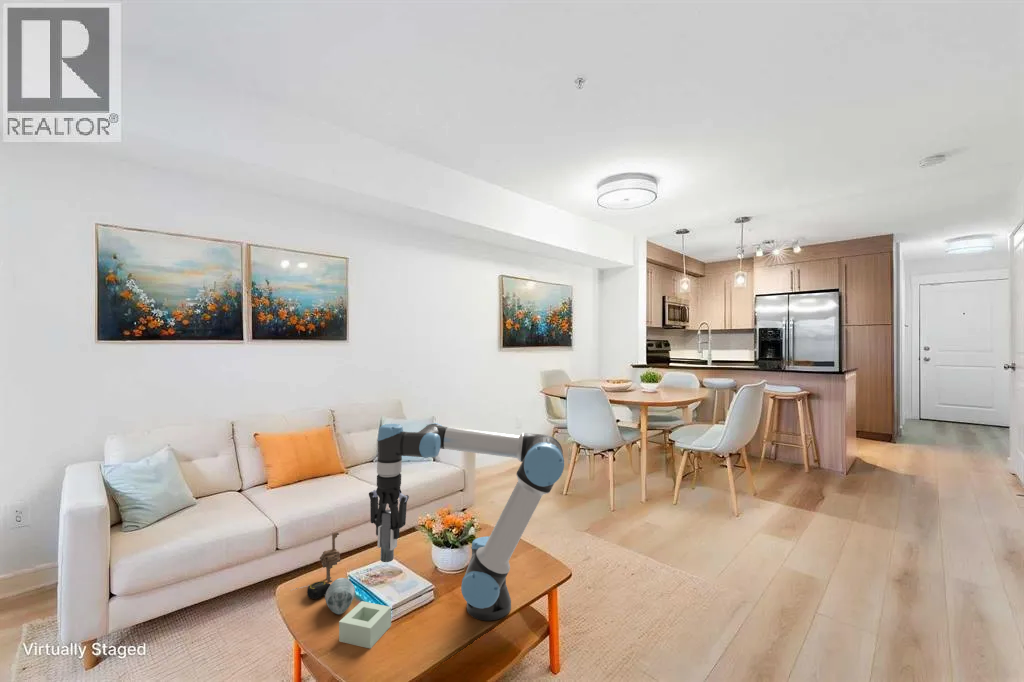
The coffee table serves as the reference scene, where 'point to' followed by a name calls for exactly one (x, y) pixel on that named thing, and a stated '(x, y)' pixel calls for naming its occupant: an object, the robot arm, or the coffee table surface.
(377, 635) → the green block with hole
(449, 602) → the coffee table surface
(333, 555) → the ostrich figurine
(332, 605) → the grey rounded lump
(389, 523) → the grey metal cylinder
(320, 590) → the tape measure
